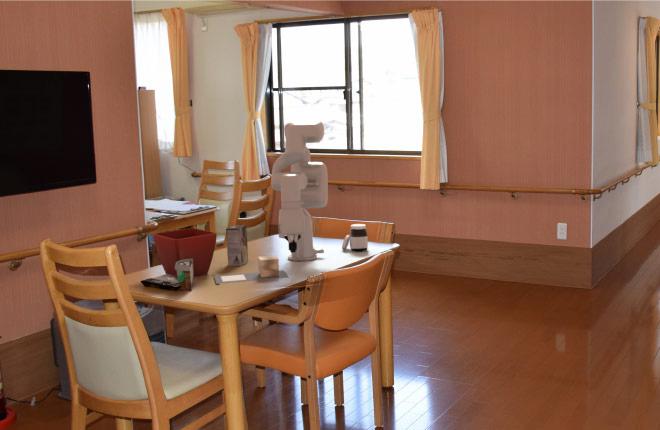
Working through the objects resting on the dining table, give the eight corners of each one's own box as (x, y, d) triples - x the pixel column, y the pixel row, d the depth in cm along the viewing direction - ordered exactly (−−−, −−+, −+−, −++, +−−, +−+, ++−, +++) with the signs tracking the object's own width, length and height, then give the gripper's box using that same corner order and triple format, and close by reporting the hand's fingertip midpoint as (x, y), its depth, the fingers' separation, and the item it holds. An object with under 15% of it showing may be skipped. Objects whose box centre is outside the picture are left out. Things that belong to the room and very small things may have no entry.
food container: (178, 284, 281) (176, 259, 280) (194, 284, 282) (192, 258, 280) (174, 293, 269) (172, 266, 268) (191, 292, 270) (189, 265, 268)
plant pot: (220, 273, 298) (217, 232, 296) (178, 282, 286) (175, 239, 283) (195, 266, 312) (192, 227, 310) (154, 274, 300) (151, 233, 297)
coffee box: (234, 261, 320) (232, 224, 318) (248, 261, 319) (246, 224, 317) (227, 265, 312) (225, 228, 309) (242, 266, 310) (240, 228, 308)
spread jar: (369, 252, 331) (368, 226, 329) (344, 253, 329) (343, 227, 327) (364, 247, 343) (363, 222, 341) (340, 248, 341) (339, 223, 339)
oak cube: (276, 272, 294) (275, 255, 293) (279, 276, 287) (278, 258, 286) (258, 274, 292) (258, 256, 291) (261, 277, 286) (260, 260, 285)
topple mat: (283, 271, 298) (283, 270, 298) (289, 278, 285) (289, 277, 285) (213, 277, 291) (213, 275, 291) (216, 284, 279) (216, 283, 279)
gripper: (308, 203, 293) (309, 249, 295) (270, 205, 290) (272, 251, 292) (311, 205, 286) (313, 252, 288) (273, 207, 282) (275, 254, 285)
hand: (292, 251), depth 290 cm, fingers closed
